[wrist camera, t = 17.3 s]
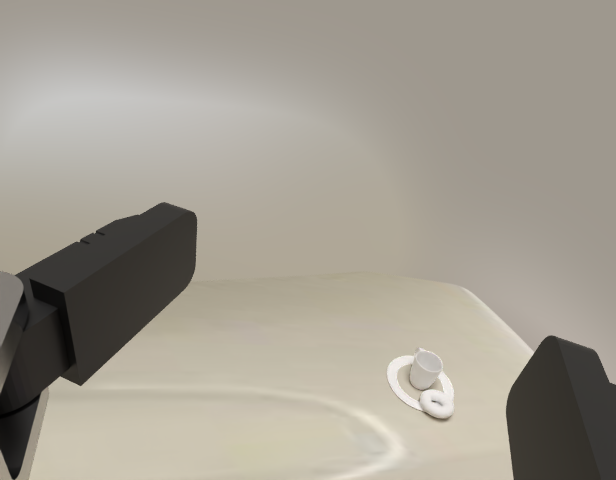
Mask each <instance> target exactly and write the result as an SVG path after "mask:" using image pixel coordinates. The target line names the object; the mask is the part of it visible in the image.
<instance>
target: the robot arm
mask: <svg viewBox="0 0 616 480" xmlns="http://www.w3.org/2000/svg"><path fill="white" fill-rule="evenodd" d="M196 235H197V217H196V215H195V213H194V212H192V211H189V210H186V209H183V208H180V207H177V206H174V205H171V204H169V203H165V202H164V203H160V204H158V205H156V206H155V207H153V208H151V209H149V210H148V211H146V212H144V213H142V214H140V215H134V216H131V217H127V218H123V219H119V220H115V221H113V222H111V223H110V224H108V225H106V226H104V227H102V228H100V229H98V230H97V231H96V233H95V234H94V233H92V234H90V235H88V236H86V237H84V238H82V239H81V240H80V242H75V243H73V244H71V245H69V246H67V247H66V248H64V249H62V250H60V251H58V252H57V253H55V254H53V255H51V256H49V257H47V258H45V259H44V260H42V261H40V262H38V263H36V264H35V265H33V266H31V267H29V268H27V269H25V270H24V271H22V272H20V273H18V274H16V275H12V274H9V273H6V272H0V480H29V476H30V472H31V468H32V464H33V460H34V455H35V451H36V447H37V443H38V439H39V435H40V431H41V427H42V423H43V419H44V414H45V410H46V406H47V402H48V398H49V388H48V386H49V385H50V384H51V383H53V382H54V381H55V380H56V379H57V378H58V377H59V376H61V377H63V378H65V379H67V380H69V381H71V382H73V383H76V384H78V385H80V386H81V385H83V384H84V383H85V382H86V381H87V380H88V379H89V378H90V377H91V376H92V375H93V374H94V373H95V372H96V371H98V370H99V369H100V368H101V367H102V366H103V365H104V364H105V363H106V362H107V361H108V360H109V359H110V358H111V357H113V356H114V355H115V354H116V353H117V352H118V351H119V350H120V349H121V348H122V347H123V346H124V345H125V344H126V343H128V342H129V341H130V340H131V339H132V338H133V337H134V336H135V335H136V334H137V333H138V332H139V331H140V330H141V329H143V328H144V327H145V326H146V325H147V324H148V323H149V322H150V321H151V320H152V319H153V318H154V317H155V316H156V315H158V314H159V313H160V312H161V311H162V310H163V309H164V308H165V307H166V306H167V305H168V304H169V303H170V302H171V301H173V300H174V299H175V298H176V297H177V296H178V295H179V294H180V293H181V292H182V291H183V290H184V289H185V288H186V287H187V286H188V284H189V283H190V281H191V279H192V277H193V274H194V270H195V263H196V237H197V236H196ZM506 418H507V426H508V435H509V443H510V452H511V460H512V469H513V477H514V480H616V385H615V384H612V383H610V382H609V380H608V378H607V375H606V373H605V371H604V368H603V366H602V363H601V361H600V359H599V356H598V354H597V353H596V352H595V351H594V350H593V349H590V348H587V347H585V346H581V345H579V344H576V343H573V342H570V341H567V340H564V339H561V338H558V337H555V336H548V337H546V338H545V339H544V340H543V341H542V342H541V344H540V345H539V347H538V348H537V350H536V351H535V353H534V354H533V356H532V357H531V359H530V360H529V362H528V363H527V365H526V366H525V368H524V369H523V371H522V372H521V374H520V375H519V377H518V378H517V380H516V381H515V383H514V384H513V386H512V388H511V390H510V393H509V396H508V400H507V406H506Z"/></svg>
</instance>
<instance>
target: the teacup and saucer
mask: <svg viewBox="0 0 616 480" xmlns="http://www.w3.org/2000/svg"><path fill="white" fill-rule="evenodd" d="M407 364H412V367H411V371H410V382H411V384H412V385H413V386H414V387H415V388H417V389H419V390H425V389H427V388H429V387H430V386H431V385H432V384H433V383H434V381H435V380H436V379H437V377H438V378H439V380H440V381H441V383H442V386H443V392H441V391H438V390H433V389H429V390H425V391H423V392H422V394H421V395H420V402H419V401H417V400H415V399H413V398H411V397H410V396H408V395H407V394H406V393H405V392H404V391H403V390H402V389H401V387H400V385H399V383H398V381H397V372H398V370H399V369H400V368H401V367H402V366H404V365H407ZM442 369H443V363H442V361H441V359H440V358H439V357H438V356H437V355H436V354H434V353H432V352H430V351H425V350H424V349H423V348H416V350H415V355H414V356H401V357H398V358H396V359H394V360H393V361H392V362H391V363H390V364H389V366H388V368H387V379H388V382H389V385H390V387H391V388H392V390H393V391H394V393H395V394H396V395H397V396H398V397H399V398H400V399H401V400H402V401H403V402H405V403H406V404H408V405H409V406H411V407H413V408H415V409H417V410H420V411H424V412H427V413H428V414H430V415H431V416H434V417H436V418H448V417H450V416H451V415H452V414H453V412H454V404H453V400H454V390H453V386H452V384H451V382H450V380H449V378H448V377H447V376H446V374H445V373H444V372H443V371H442ZM432 401H437V402H435V403H432Z"/></svg>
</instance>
